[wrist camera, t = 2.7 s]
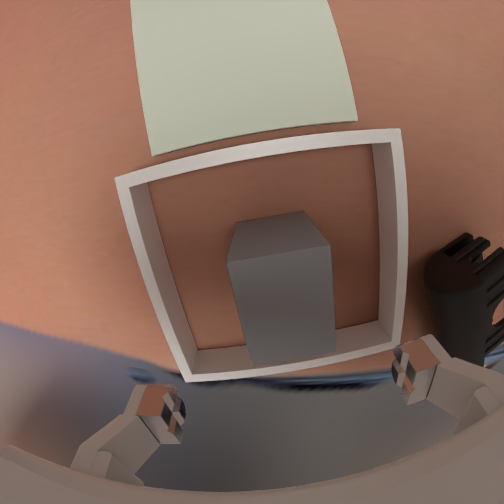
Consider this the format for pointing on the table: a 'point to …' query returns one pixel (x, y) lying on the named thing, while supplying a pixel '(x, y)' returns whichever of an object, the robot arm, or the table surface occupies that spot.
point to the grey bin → (237, 358)
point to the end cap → (466, 297)
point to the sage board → (237, 69)
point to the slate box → (283, 287)
